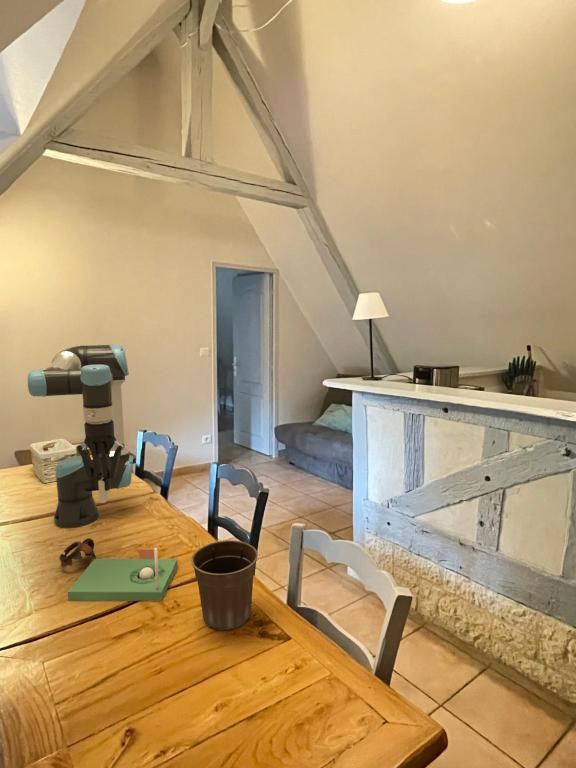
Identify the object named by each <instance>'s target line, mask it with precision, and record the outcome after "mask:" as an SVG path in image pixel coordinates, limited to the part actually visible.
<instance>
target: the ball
mask: <svg viewBox="0 0 576 768" xmlns="http://www.w3.org/2000/svg"><path fill="white" fill-rule="evenodd" d="M139 577H140V579H141V580H148V579H151V578H153V577H154V571H153V570H152V569H151V568H149V567H146V568H143V569H142V570H141V572H140V574H139Z"/></svg>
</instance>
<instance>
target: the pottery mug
mask: <svg viewBox="0 0 576 768" xmlns="http://www.w3.org/2000/svg"><path fill="white" fill-rule="evenodd" d="M94 549H95V541H94V539H92V538H90V537H88V538H85V539H84V540H83V541H82V542H81V541H80V540H78V541H74V542H73V543H70V545H68V546H67V547H66V548H65V549H64V550H63V553H60V555H59V557H58V559H59V561H60V566H61V567H62V568H64V567H67V566H69V567H73V560H75V561H76V560H77V561H78V560H83V556H82V552H83V553H84V555H85V557H91V560H90V561H89V565H90V564H91V563H92V562H93V560H94V559H98V558H97V557H96V555H95V551H94ZM70 552H71V553H70ZM69 553H70V554H69Z"/></svg>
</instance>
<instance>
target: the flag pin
mask: <svg viewBox="0 0 576 768" xmlns="http://www.w3.org/2000/svg"><path fill="white" fill-rule="evenodd" d="M138 555H139V556H138V557H139V558H138V559H155V579H156V590H158V589H159V576H158V559H159V558H158V547H154V548H138Z"/></svg>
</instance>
